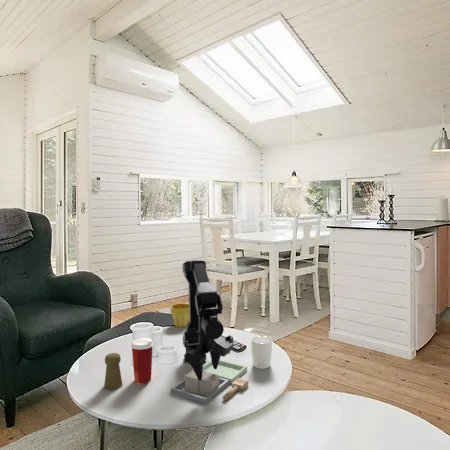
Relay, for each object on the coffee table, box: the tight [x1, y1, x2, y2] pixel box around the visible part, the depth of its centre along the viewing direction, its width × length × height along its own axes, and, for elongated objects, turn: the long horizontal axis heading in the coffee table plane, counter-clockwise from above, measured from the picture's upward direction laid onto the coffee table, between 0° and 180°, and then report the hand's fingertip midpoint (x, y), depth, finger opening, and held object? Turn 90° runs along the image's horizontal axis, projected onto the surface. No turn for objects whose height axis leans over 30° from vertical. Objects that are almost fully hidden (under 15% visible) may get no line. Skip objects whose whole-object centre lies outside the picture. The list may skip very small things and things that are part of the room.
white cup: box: [250, 335, 273, 370], centre depth 147 cm, size 8×8×10 cm
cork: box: [103, 352, 123, 391], centre depth 131 cm, size 6×6×11 cm
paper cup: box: [130, 337, 154, 385], centre depth 135 cm, size 8×8×14 cm
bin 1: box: [170, 377, 230, 405], centre depth 129 cm, size 14×15×2 cm
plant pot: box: [170, 302, 189, 328], centre depth 193 cm, size 10×10×10 cm
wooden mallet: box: [222, 377, 249, 401], centre depth 126 cm, size 13×4×2 cm, turn 149°
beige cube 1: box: [198, 372, 220, 396], centre depth 127 cm, size 5×5×5 cm
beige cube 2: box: [184, 369, 205, 394], centre depth 129 cm, size 5×5×5 cm
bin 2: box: [203, 359, 248, 384], centre depth 141 cm, size 15×12×2 cm
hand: (207, 374), depth 127 cm, fingers open, 9 cm apart
